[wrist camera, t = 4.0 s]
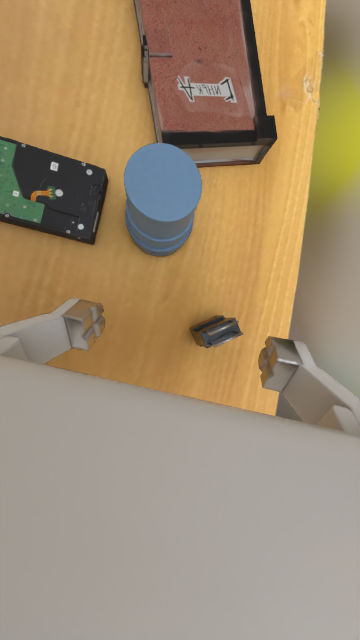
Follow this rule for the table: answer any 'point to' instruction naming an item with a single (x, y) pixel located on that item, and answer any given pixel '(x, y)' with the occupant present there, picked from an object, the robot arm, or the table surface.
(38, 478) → the robot arm
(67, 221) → the disk drive
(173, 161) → the cup stack
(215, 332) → the clip
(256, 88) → the book
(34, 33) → the table surface
